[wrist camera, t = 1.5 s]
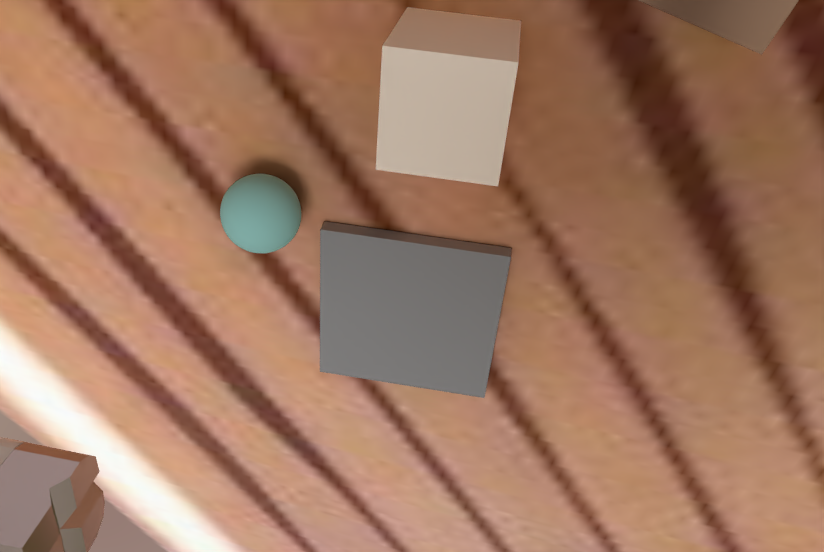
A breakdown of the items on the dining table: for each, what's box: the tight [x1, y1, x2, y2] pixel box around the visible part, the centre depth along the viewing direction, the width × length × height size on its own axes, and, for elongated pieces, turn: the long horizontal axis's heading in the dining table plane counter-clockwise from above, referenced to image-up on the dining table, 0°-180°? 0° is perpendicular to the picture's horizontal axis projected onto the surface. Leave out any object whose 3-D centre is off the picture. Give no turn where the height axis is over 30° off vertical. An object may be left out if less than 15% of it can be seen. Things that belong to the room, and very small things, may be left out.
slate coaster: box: [320, 221, 511, 398], centre depth 35 cm, size 9×9×1 cm
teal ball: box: [220, 174, 301, 253], centre depth 32 cm, size 4×4×4 cm
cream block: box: [376, 7, 521, 186], centre depth 26 cm, size 4×4×6 cm
